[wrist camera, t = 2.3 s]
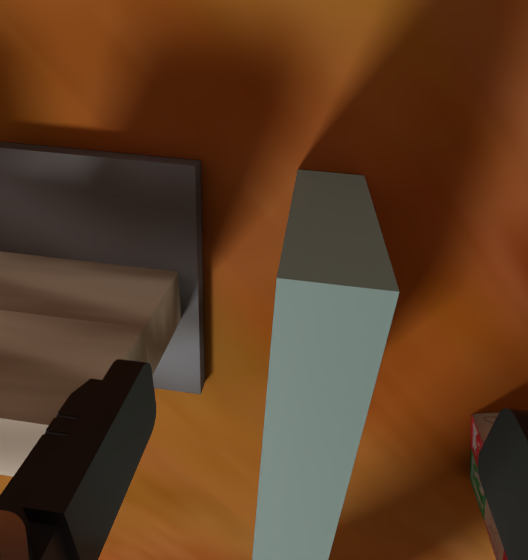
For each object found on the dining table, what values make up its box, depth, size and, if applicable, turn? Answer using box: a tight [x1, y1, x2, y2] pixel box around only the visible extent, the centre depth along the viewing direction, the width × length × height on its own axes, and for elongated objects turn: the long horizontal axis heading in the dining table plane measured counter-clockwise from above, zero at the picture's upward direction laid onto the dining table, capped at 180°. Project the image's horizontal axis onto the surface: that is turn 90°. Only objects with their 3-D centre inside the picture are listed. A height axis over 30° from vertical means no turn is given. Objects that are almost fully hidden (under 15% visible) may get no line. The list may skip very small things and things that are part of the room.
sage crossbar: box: [252, 169, 399, 560], centre depth 18 cm, size 14×3×10 cm, turn 177°
